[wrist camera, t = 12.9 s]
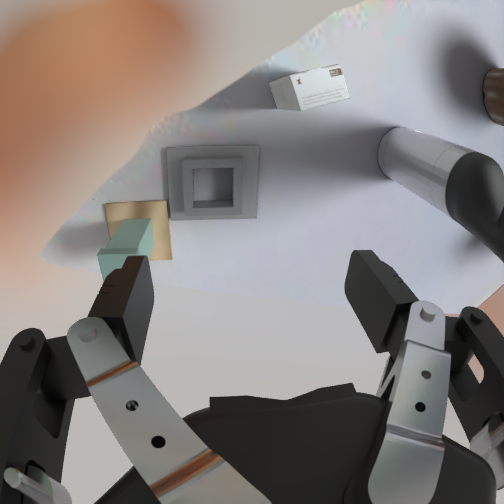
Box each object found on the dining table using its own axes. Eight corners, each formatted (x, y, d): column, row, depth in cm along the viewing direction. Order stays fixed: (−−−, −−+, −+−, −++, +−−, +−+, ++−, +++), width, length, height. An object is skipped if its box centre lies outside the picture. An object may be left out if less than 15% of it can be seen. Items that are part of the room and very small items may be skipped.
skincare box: (277, 110, 39) (299, 115, 28) (267, 81, 36) (286, 75, 26) (317, 98, 38) (352, 101, 28) (308, 70, 36) (340, 62, 25)
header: (258, 145, 41) (261, 149, 38) (255, 215, 46) (258, 223, 44) (167, 147, 40) (163, 151, 37) (171, 217, 45) (169, 225, 42)
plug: (153, 216, 44) (135, 253, 34) (156, 246, 46) (142, 289, 36) (121, 217, 43) (97, 254, 33) (126, 247, 46) (105, 289, 36)
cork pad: (166, 199, 43) (166, 201, 43) (172, 257, 48) (172, 259, 48) (105, 203, 42) (104, 204, 42) (115, 259, 47) (114, 260, 47)
